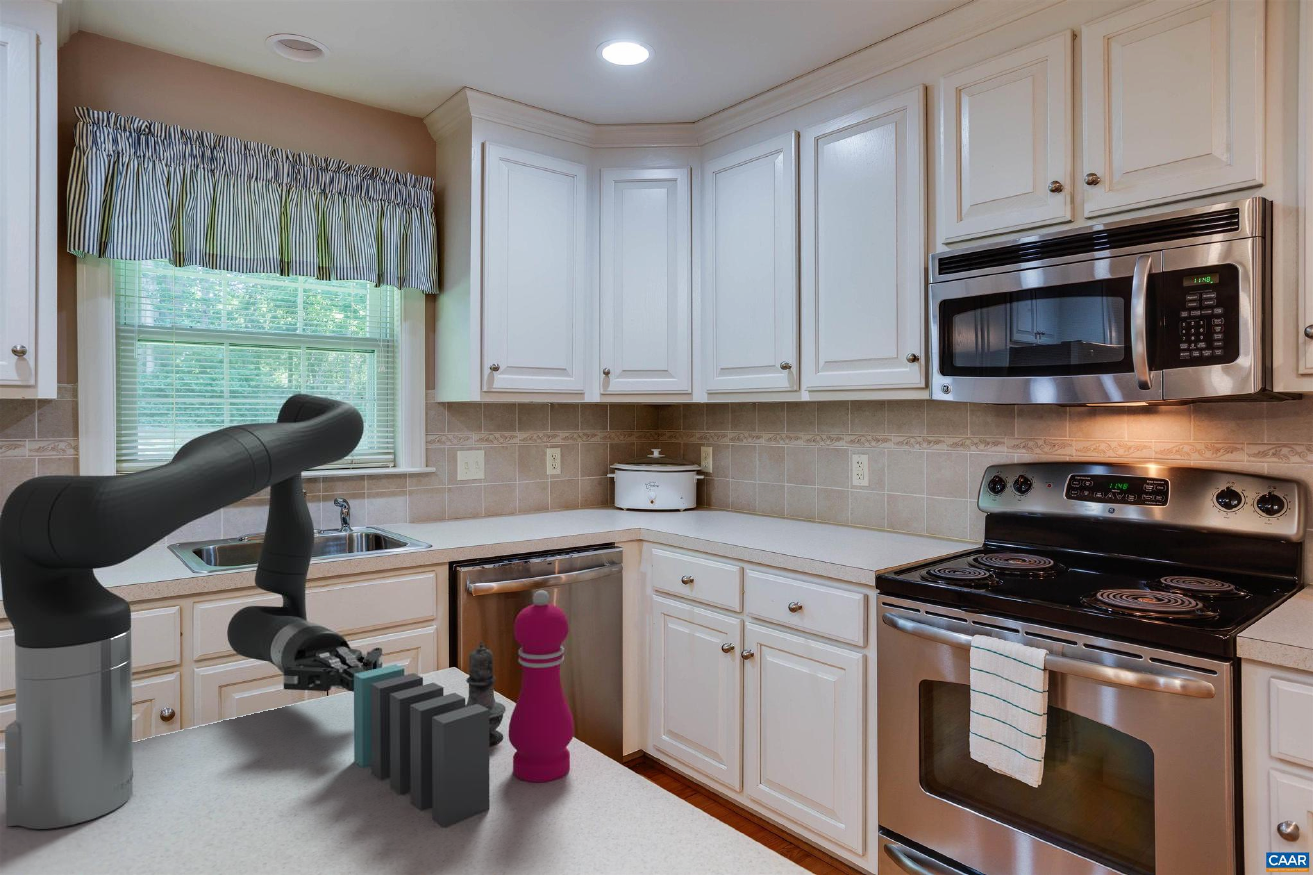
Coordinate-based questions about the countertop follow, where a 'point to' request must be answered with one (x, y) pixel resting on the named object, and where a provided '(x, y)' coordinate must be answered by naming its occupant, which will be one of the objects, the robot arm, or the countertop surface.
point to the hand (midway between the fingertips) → (364, 684)
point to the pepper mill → (541, 695)
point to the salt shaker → (485, 690)
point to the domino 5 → (460, 764)
